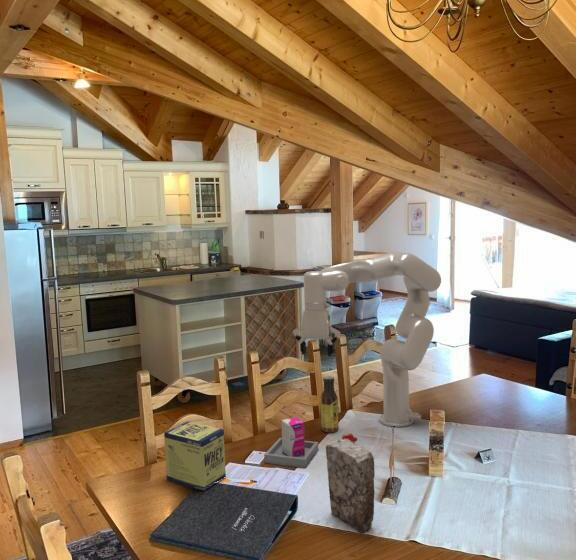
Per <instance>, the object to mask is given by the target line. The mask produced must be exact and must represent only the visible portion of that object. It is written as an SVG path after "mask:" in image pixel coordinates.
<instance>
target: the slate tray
mask: <svg viewBox="0 0 576 560" xmlns="http://www.w3.org/2000/svg"><path fill="white" fill-rule="evenodd" d="M318 452H319V442H318V441H309V440H305V455H302V456H297V457H291V456H286V455H285V454H283V453H282V437H279V438H278V439H277V440H276V441H275V442H274V443H273V444H272V446H271V447H270V448H269V449H268V450H266V452H265V453H264V456H263V457H264V464H271V465H279V466H284V467H285V466H287V467H295V468H301V469H302V468H303V469H306V468H307V467H308V466H309V464H310V462H312V460H313V459H314V457H315V456H316V454H317V453H318Z"/></svg>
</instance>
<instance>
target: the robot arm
mask: <svg viewBox="0 0 576 560" xmlns="http://www.w3.org/2000/svg"><path fill="white" fill-rule="evenodd" d="M395 276H402V277H403V283H404V285H405V288H406V291H407V300H406V302H405V305H404V307H403V309H402V311H401V313H400V315H399V317H398V319H397V321H396V324H395V329H394V330H395V332H396V334H397V335H398V336H400V337H401V338H403V339H406V340H405V341H403V340H400V339H398V338H397V339H396V338H391V339H387V340H385V341H384V342H383V343H382V345H381V347H380V351H379V353H380V355H379V356H380V361H381V367H382V381H383V382H382V383H383V384H382V387H383V389H382V391H383V394H382V395H383V399H382V400H383V414H381V415H380V416H379V422H380V423H381V424H382V425H384V426H388V427H393V426H395V428H400V427H401V428H402V427H407V426H411V425H412V424H413V423H414V420H419V421H421V420H422V414H419V412H413V411H412V410H411V409H412V408H411V407H410V390H409V389H410V388H409V386H410V384H409V383H410V378H409V377H410V376H409V372H410V371H414V370H415V369H417V368H418V367H419V365H421V363H422V361H423V359H424V357H425V355H426V353H427V351H428V348H429V346H430V344H431V343H432V340H433V337H434V331H435V330H434V325H433V323H432V321H431V319H429V318H427V317H426V316H427V313H428V311H429V308H430V303H431V302H430V301H431V300H430V299H431V298H430V294H429V293H431V292H435V291H437V290H439V288H440V287H441V283H442V277H441V274H440V273H439V272H438V270H437V269H435V268H434V267H432V266H431V265H430V264H428V263H426V261H424V260H423V259H421V258H419V257H418V256H417V255H415V254H413V253H410V252H403V251H401V252H400V251H395V252H388V253H386V254H381V255H378V256H374V257H369V258H366V259H361V260H355V261H351V262H345V263H339V264H336V265H335V264H334V265H331V266H328V267H325V268H322V269H321V270H311V271H307V272H305V273H304V274H303V287H304V289H303V290H304V291H303V292H304V293H303V295H304V297H303V298H304V310H303V311H302V317H301V325H300V326H299V327H297V328H295V329H293V330H292V334H293V335H294V338H295V339H296V341H298V343H299V346H300V349H299V350H300V353H301V355H302V356H303V355H306V353H307V341H306V340H307V339H308V340H309V339H310V340H325V341H326V342H327V343H328V344H327V356H328V357H331V356H332V355H333V354H334V343H336V342H337V340H338V339H339V337H340V335H341V331H340V330H338V329H336V328H334V327H332V321H331V314H330V310H329V309H328V308H331V303H328V302H327V293H326V292H341V291H344V290H346V289H347V288H348V287H349V284H351V283H362V284H363V283H373V282H377V281H380V280H383V279H387V278H391V277H395ZM300 331H301V332H300ZM299 332H300V333H301V334H299ZM332 333H333V334H334V337H332Z"/></svg>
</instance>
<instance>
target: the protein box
mask: <svg viewBox="0 0 576 560" xmlns="http://www.w3.org/2000/svg"><path fill="white" fill-rule="evenodd" d="M224 431H225V430H224V429H223V428H220V427H219V428H218V427H214V426H210V425H207V424H206V425H205V424H200V423H197V422H192V421H185V422H184V423H183V422H182V423H181V424H179V425H177V426H175V427H172V428H171V429H168V430H167V431H164V433H163V436H164V454H165V471H166V472H165V473H166V481H170V482H173V483H174V484H175V483H176V484H178V485H181V486H184V487H188V488H191V489H194V487H196V486H198V487H201V488H205V487H207V486H208V485H210V484H212V483H214V482H217V481H219V480H221V479H223V478H224V477H226V478H227V476H226V475H227V474H226V471H227V470H226V457H225V455H226V451H225V450H226V449H225V434H224ZM224 479H225V478H224ZM224 479H223V480H224ZM221 481H222V480H221Z"/></svg>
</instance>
